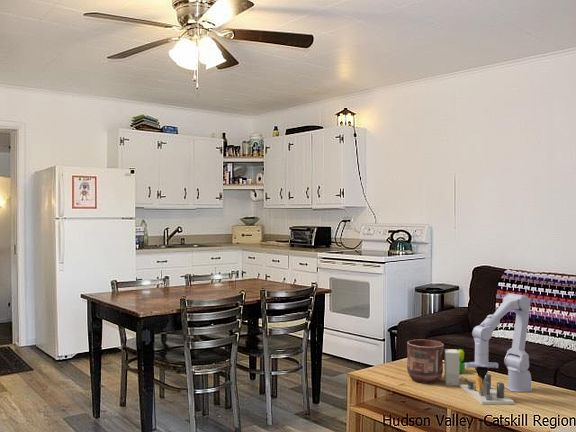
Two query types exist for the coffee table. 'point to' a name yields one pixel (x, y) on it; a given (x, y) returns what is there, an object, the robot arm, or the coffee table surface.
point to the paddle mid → (478, 383)
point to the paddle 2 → (486, 388)
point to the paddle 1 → (467, 381)
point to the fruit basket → (461, 364)
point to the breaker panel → (495, 394)
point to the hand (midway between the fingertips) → (481, 383)
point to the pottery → (425, 360)
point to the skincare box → (451, 367)
